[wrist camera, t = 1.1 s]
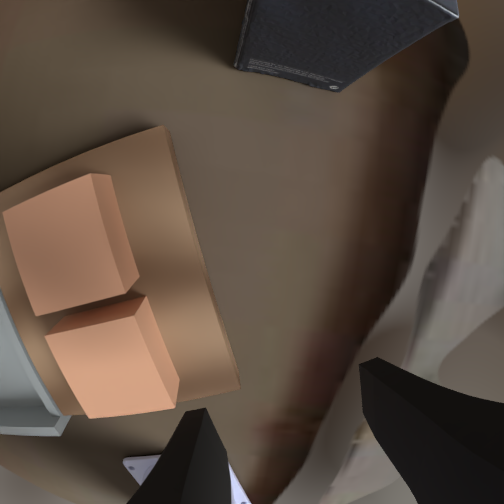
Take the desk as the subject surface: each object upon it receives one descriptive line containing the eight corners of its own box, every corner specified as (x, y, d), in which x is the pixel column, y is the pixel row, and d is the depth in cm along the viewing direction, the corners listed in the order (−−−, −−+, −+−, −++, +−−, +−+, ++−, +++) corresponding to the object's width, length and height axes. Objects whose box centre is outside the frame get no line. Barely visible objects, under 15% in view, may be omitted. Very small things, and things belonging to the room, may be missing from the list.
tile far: (179, 379, 16) (175, 407, 13) (101, 392, 16) (88, 418, 13) (146, 295, 15) (134, 315, 12) (65, 316, 14) (44, 335, 12)
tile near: (139, 276, 15) (125, 293, 12) (58, 298, 14) (36, 316, 12) (110, 174, 13) (90, 173, 11) (29, 207, 13) (2, 212, 11)
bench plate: (238, 369, 18) (240, 388, 16) (73, 398, 18) (63, 415, 16) (169, 131, 15) (163, 124, 13) (-4, 202, 15) (-23, 205, 13)
